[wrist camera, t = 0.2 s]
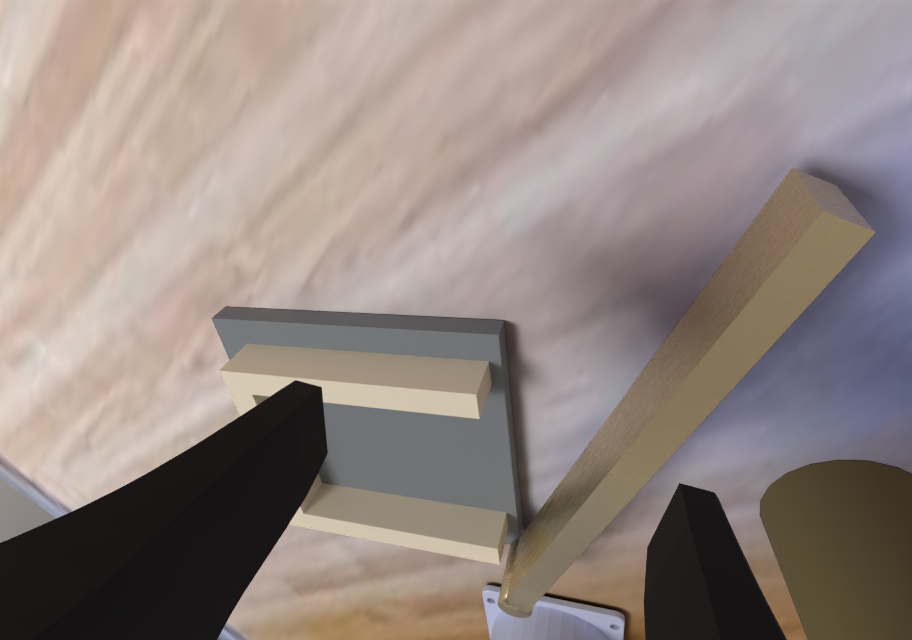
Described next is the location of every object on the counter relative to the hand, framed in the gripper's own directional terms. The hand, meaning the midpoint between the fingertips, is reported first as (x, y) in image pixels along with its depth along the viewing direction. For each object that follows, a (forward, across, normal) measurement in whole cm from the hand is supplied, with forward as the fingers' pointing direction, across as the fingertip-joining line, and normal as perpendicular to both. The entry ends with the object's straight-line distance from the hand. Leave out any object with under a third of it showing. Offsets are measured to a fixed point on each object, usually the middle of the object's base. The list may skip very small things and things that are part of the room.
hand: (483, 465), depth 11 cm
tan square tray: (+10, +6, +11) cm, 16 cm away
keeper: (+9, -4, +6) cm, 11 cm away
